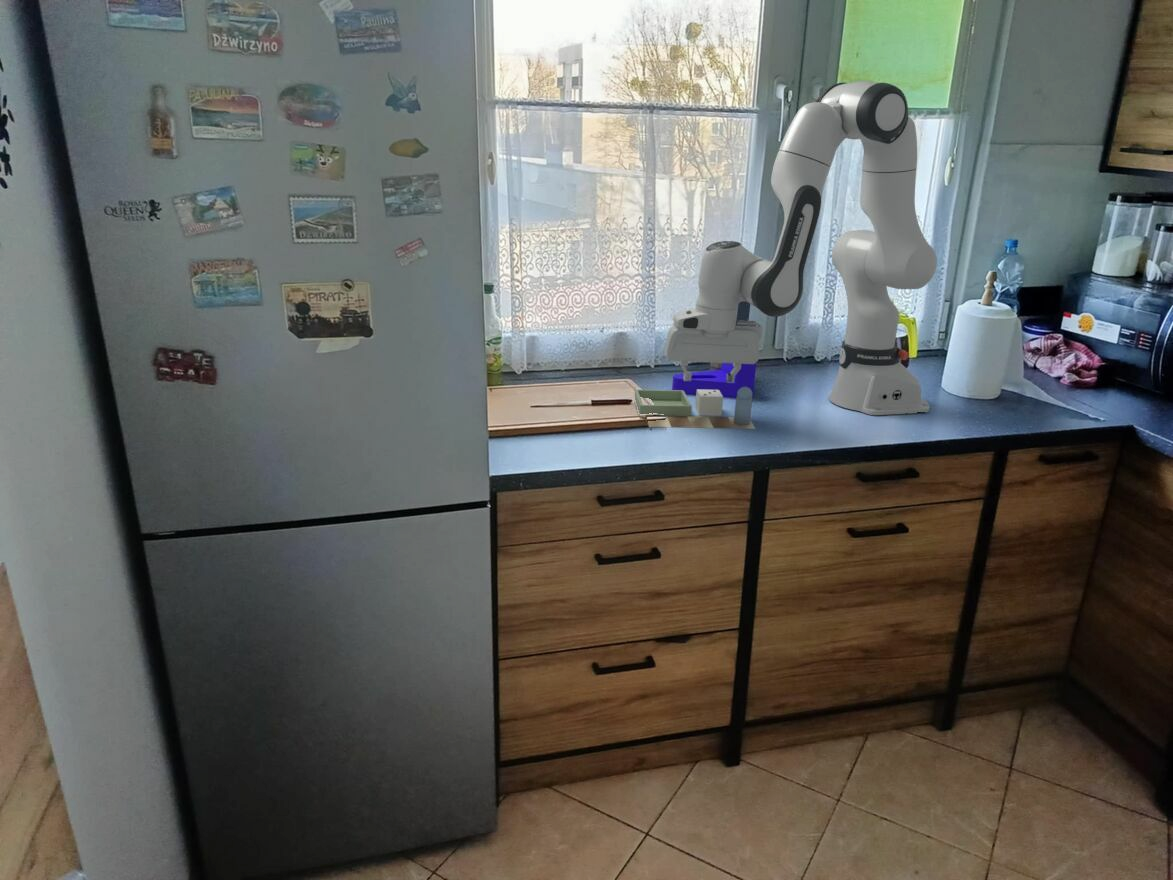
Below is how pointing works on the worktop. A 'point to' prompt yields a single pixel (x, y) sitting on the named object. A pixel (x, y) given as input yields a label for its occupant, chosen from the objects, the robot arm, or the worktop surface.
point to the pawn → (743, 406)
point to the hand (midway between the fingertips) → (708, 381)
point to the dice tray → (664, 402)
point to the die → (709, 402)
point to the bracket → (717, 380)
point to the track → (698, 422)
